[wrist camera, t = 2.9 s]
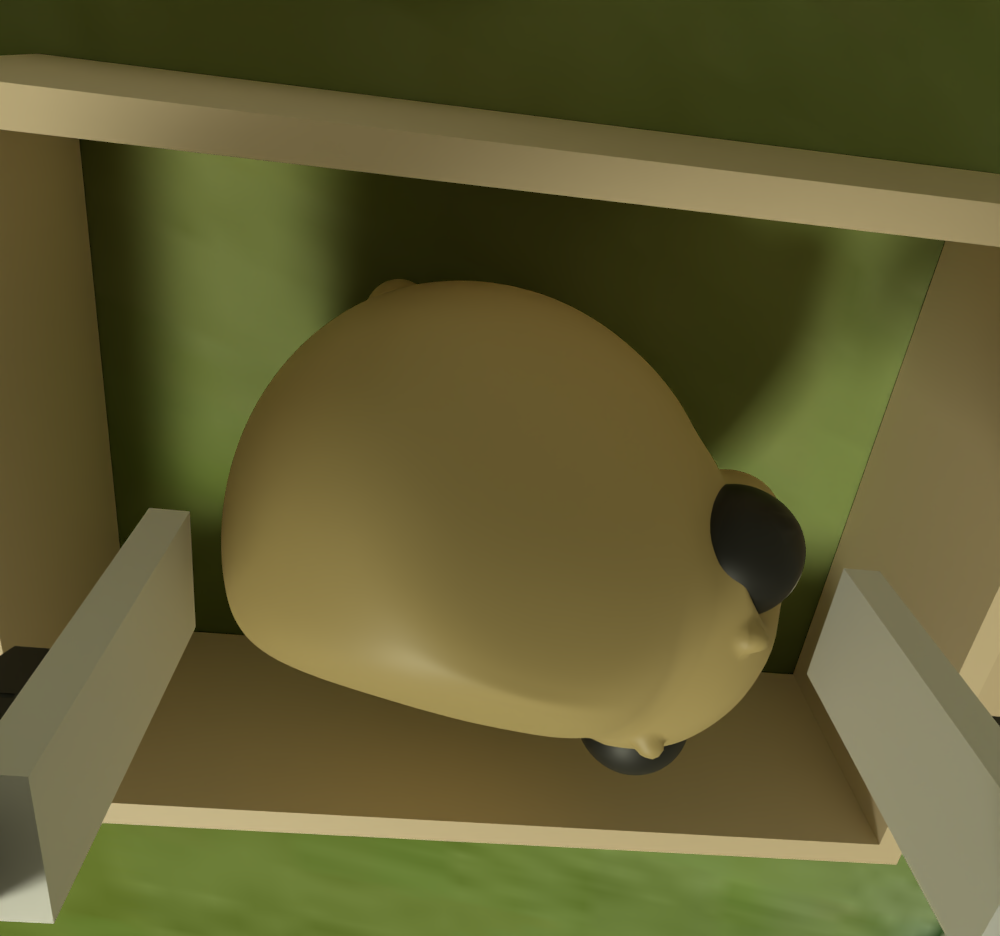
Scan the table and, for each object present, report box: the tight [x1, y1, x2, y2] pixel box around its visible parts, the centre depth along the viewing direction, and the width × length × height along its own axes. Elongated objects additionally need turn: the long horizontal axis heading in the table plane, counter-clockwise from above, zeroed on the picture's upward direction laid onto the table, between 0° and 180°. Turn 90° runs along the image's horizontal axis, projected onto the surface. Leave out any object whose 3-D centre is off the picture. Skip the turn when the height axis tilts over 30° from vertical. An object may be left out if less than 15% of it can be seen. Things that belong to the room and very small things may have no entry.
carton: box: [0, 54, 1000, 865], centre depth 20 cm, size 16×30×6 cm, turn 83°
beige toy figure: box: [221, 279, 806, 775], centre depth 19 cm, size 10×12×11 cm
